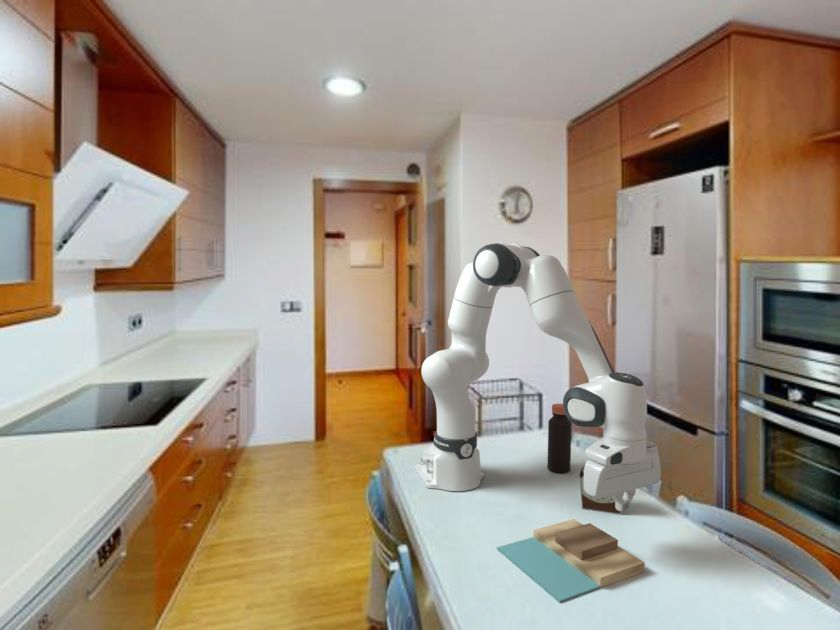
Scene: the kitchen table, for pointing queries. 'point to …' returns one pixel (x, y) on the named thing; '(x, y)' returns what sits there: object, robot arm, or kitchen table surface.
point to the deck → (597, 567)
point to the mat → (548, 569)
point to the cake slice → (596, 504)
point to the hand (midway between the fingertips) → (623, 509)
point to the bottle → (559, 441)
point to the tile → (586, 541)
